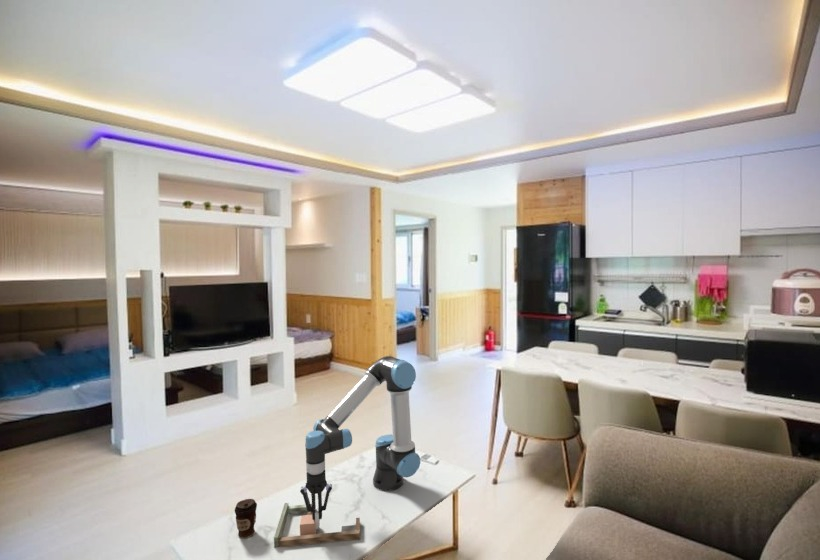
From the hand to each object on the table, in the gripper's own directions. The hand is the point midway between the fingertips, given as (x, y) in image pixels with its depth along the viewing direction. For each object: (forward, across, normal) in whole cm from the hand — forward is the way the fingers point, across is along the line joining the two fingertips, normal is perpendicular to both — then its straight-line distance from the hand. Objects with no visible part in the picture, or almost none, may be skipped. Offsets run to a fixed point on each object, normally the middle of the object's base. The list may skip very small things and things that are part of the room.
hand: (317, 526), depth 168 cm
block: (+2, +4, -1) cm, 4 cm away
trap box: (+2, 0, -5) cm, 5 cm away
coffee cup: (+2, +29, -3) cm, 29 cm away
